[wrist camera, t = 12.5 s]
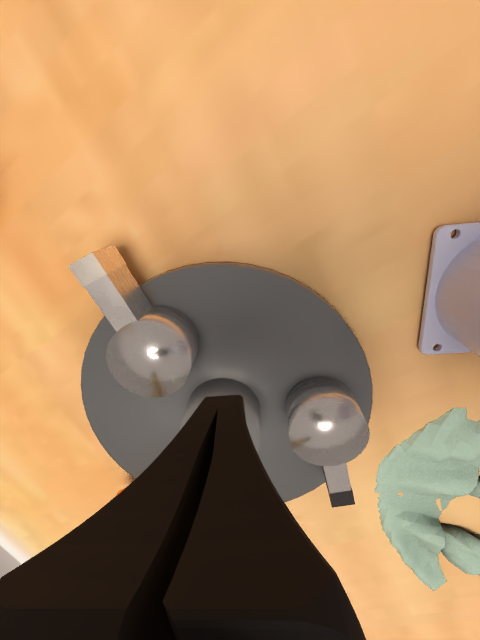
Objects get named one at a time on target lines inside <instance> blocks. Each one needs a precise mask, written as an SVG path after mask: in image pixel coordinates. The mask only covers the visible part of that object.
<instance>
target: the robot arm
mask: <svg viewBox="0 0 480 640" xmlns="http://www.w3.org/2000/svg"><path fill="white" fill-rule="evenodd" d="M453 230H456V235H455V236H454V237H453V238H451V232H452V231H453ZM436 344H438V347H436V348H434V349H433V347H434V346H435V345H436ZM418 348H419V350H420V351H421V352H422V353H423V354H426V355H432V354H450V353H467V352H474V353H475V354H476V355H478V356H479V357H480V222H472V223H461V224H449V225H442V226H439V227H438V228H437V229H436V230H435V231H434V234H433V240H432V248H431V255H430V263H429V270H428V278H427V285H426V293H425V300H424V308H423V315H422V323H421V330H420V338H419V345H418ZM0 640H366V638H365V636H364V633H363V630H362V628H361V625H360V623H359V620H358V618H357V616H356V613H355V611H354V609H353V607H352V605H351V603H350V601H349V598H348V596H347V594H346V592H345V590H344V588H343V586H342V584H341V582H340V580H339V578H338V576H337V574H336V572H335V571H334V570H333V568H332V567H331V566H330V565H329V563H328V562H327V561H326V560H325V559H324V557H323V556H322V555H321V554H320V552H319V551H318V550H317V548H316V547H315V546H314V545H313V543H312V542H311V541H310V539H309V538H308V537H307V535H306V534H305V532H304V531H303V530H302V528H301V527H300V525H299V524H298V523H297V521H296V520H295V518H294V517H293V515H292V514H291V512H290V511H289V509H288V507H287V506H286V504H285V503H284V501H283V500H282V498H281V497H280V495H279V493H278V492H277V490H276V488H275V487H274V485H273V483H272V481H271V480H270V478H269V476H268V474H267V472H266V470H265V468H264V466H263V464H262V462H261V460H260V458H259V455H258V453H257V451H256V449H255V446H254V444H253V441H252V439H251V436H250V433H249V430H248V427H247V423H246V416H245V408H244V400H243V397H242V396H241V395H225V396H209V397H205V398H204V399H203V400H202V402H201V403H200V404H199V406H198V407H197V409H196V410H195V411H194V413H193V414H192V415H191V417H190V418H189V419H188V421H187V422H186V423H185V425H184V426H183V427H182V428H181V430H180V431H179V432H178V433H177V435H176V436H175V437H174V438H173V440H172V441H171V442H170V443H169V444H168V445H167V447H166V448H165V449H164V450H163V451H162V452H161V453H160V454H159V456H158V457H157V458H156V459H155V460H154V461H153V462H152V463H151V464H150V465H149V466H148V467H147V468H146V469H145V470H144V471H143V472H142V473H141V474H140V475H139V476H138V477H137V478H136V479H135V480H134V481H133V482H132V483H131V484H130V485H129V486H128V487H126V488H125V489H124V490H123V491H122V492H120V493H119V494H118V495H117V496H116V497H114V498H113V499H112V500H111V501H110V502H109V503H107V504H106V505H105V506H104V507H103V508H101V509H100V510H99V511H98V512H96V513H95V514H94V515H92V516H91V517H90V518H89V519H87V520H86V521H85V522H83V523H82V524H81V525H79V526H78V527H76V528H75V529H74V530H72V531H71V532H70V533H68V534H67V535H65V536H64V537H63V538H61V539H60V540H58V541H57V542H55V543H54V544H52V545H51V546H49V547H48V548H46V549H45V550H43V551H42V552H40V553H39V554H37V555H36V556H34V557H32V558H31V559H29V560H28V561H26V562H25V563H23V564H22V565H20V566H19V567H17V568H15V569H14V570H12V571H11V572H9V573H7V574H6V575H4V576H3V577H1V579H0Z"/></svg>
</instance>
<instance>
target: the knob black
mask: <svg viewBox="0 0 480 640" xmlns="http://www.w3.org/2000/svg"><path fill="white" fill-rule="evenodd" d="M285 410H286V417H287V425H288V432H289V439H290V444H291V447H292V449H293V451H294V452H295V453H296V454H297V455H298V456H299V457H300V458H301V459H303V460H304V461H306V462H308V463H311V464H314V465H318V466H322V468H323V472H324V477H325V481H326V485H327V489H328V493H329V497H330V501H331V505H332V507H339V506H346V505H353V504H355V502H354V497H353V492H352V488H351V485H350V481H349V476H348V471H347V465H346V462H349V461H351V460H352V459H354V458H355V457H357V456H358V455H359V454H360V453H361V452H362V451H363V450H364V448H365V447H366V445H367V443H368V440H369V427H368V424H367V422H366V420H365V418H364V416H363V414H362V412H361V410H360V408H359V406H358V404H357V402H356V400H355V398H354V396H353V394H352V392H351V390H350V389H349V388H348V387H347V386H346V385H345V384H344V383H342V382H340V381H338V380H336V379H333V378H328V377H317V378H311V379H308V380H305V381H303V382H301V383H300V384H298V385H297V386H296V387H295V388H293V390H292V391H291V392H290V393H289V395H288V397H287V400H286V404H285Z"/></svg>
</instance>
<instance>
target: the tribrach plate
mask: <svg viewBox="0 0 480 640" xmlns="http://www.w3.org/2000/svg"><path fill="white" fill-rule="evenodd" d="M140 288H141V290H142V291H143V293H144V294H145V296H146V297H147V299H148V300H149V302H150V304H151V305H152V306H167V307H171V308H174V309H176V310H178V311H180V312H181V313H183V314H184V315H185V316H187V317H188V318H189V319H190V321H191V322H192V323H193V325H194V326H195V328H196V330H197V333H198V337H199V348H198V352H197V354H196V357H195V359H194V362H193V365H192V367H191V370H190V373H189V375H188V378H187V380H186V382H185V383H184V384H183V386H182V387H181V388H180V389H178V390H177V391H176V392H174V393H172V394H170V395H167V396H163V397H156V398H155V397H144V396H140V395H137V394H135V393H132V392H130V391H129V390H127V389H125V388H124V387H123V386H121V385H120V384H119V383H118V382H117V381H116V379H115V378H114V377H113V375H112V374H111V372H110V370H109V367H108V365H107V360H106V351H107V346H108V343H109V341H110V339H111V338H112V336H113V335H114V334H115V333H116V330H115V329H114V328H113V326H112V325H111V323H110V322H109V321H108V319H107V318H106V316H104V318H103V319H102V320H101V321H100V323H99V324H98V326H97V328H96V329H95V331H94V333H93V335H92V336H91V339H90V341H89V344H88V346H87V349H86V351H85V355H84V360H83V365H82V372H81V390H82V399H83V404H84V408H85V411H86V415H87V418H88V420H89V422H90V425H91V427H92V430H93V431H94V433H95V435H96V437H97V438H98V440H99V442H100V443H101V445H102V446H103V447H104V449H105V450H106V451H107V453H108V454H109V455H110V456H111V457H112V458H113V459H114V460H115V461H116V463H117V464H118V465H119V466H120V467H121V468H123V469H124V470H125V471H126V472H127V473H129V474H130V475H131V476H132V477H134V478H135V479H136V478H137V477H138V476H139V475H140V474H141V473H142V472H143V471H144V470H145V469H146V468H147V467H148V466H149V465H150V464H151V463H152V462H153V461H154V460H155V459H156V458H157V457H158V456H159V454H160V453H161V452H162V451H163V450H164V449H165V448H166V447H167V445H168V444H169V443H170V442H171V441H172V440H173V438H174V437H175V436H176V435H177V433H178V432H179V431H180V430H181V428H182V427H183V426H184V425H185V423H186V422H187V421H188V419H189V418H190V417H191V415H192V414H193V413H194V411H195V410H196V409H197V407H198V406H199V404H200V403H201V402H202V400H203V399H204V398H205V397H209V396H225V395H241V396H242V397H243V400H244V408H245V416H246V423H247V427H248V430H249V433H250V436H251V439H252V441H253V444H254V446H255V449H256V451H257V453H258V455H259V458H260V460H261V462H262V464H263V466H264V468H265V470H266V472H267V474H268V476H269V478H270V480H271V481H272V483H273V485H274V487H275V488H276V490H277V492H278V493H279V495H280V497H281V498H282V500H283V501H284V502H287V501H290V500H292V499H295V498H297V497H300V496H302V495H304V494H306V493H308V492H310V491H312V490H314V489H315V488H317V487H318V486H320V485H321V484H323V483H325V482H326V481H325V477H324V472H323V468H322V466H318V465H314V464H311V463H308V462H306V461H304V460H303V459H301V458H300V457H299V456H298V455H297V454H296V453H295V452H294V451H293V449H292V447H291V444H290V439H289V432H288V425H287V417H286V410H285V404H286V400H287V397H288V395H289V393H290V392H291V391H292V390H293V388H295V387H296V386H297V385H298V384H300V383H301V382H303V381H305V380H308V379H311V378H317V377H328V378H333V379H336V380H338V381H340V382H342V383H344V384H345V385H346V386H347V387H348V388H349V389H350V390H351V392H352V394H353V396H354V398H355V400H356V402H357V404H358V406H359V408H360V410H361V412H362V414H363V416H364V418H365V420H366V422H367V424H368V422H369V419H370V414H371V408H372V381H371V375H370V369H369V366H368V363H367V360H366V357H365V354H364V351H363V350H362V348H361V346H360V344H359V342H358V340H357V338H356V336H355V335H354V333H353V332H352V331H351V329H350V328H349V326H348V325H347V324H346V322H345V321H344V320H343V318H342V317H341V316H340V314H339V313H338V312H337V311H336V310H335V309H334V308H333V307H332V306H331V305H330V304H329V303H328V302H327V301H326V300H325V299H324V298H323V297H321V296H320V295H319V294H317V293H316V292H315V291H313V290H312V289H311V288H309V287H308V286H306V285H304V284H302V283H300V282H299V281H297V280H295V279H293V278H291V277H289V276H287V275H284V274H281V273H279V272H276V271H274V270H271V269H267V268H263V267H259V266H255V265H251V264H243V263H234V262H206V263H200V264H193V265H187V266H183V267H180V268H177V269H173V270H170V271H167V272H165V273H162V274H160V275H158V276H156V277H154V278H151V279H149V280H148V281H146V282H145V283H143V284H141V285H140ZM346 463H347V462H346Z"/></svg>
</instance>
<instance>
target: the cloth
mask: <svg viewBox="0 0 480 640" xmlns="http://www.w3.org/2000/svg"><path fill="white" fill-rule="evenodd" d="M466 414H467V409H466V408H453V409H452V410H450V411H448V412H447V413H445V414H444V415H443V416H441V417H440V418H438V419H437V420H434V421H432V422H429V423H428V424H427V425H426V426H424V427H423V428H422V429H420V430H418V431H416V432H415V433H414V434H413V435H412V436H411V437H410V438H408V439H407V440H404V441H402V442H401V445H396V446H395V447H394V448H393V449H392V450H391V452H390V453H389V454H388V455H387V456H386V457H384V459H383V460H382V462H381V463H380V464H379V468H378V472H377V479H376V482H377V486H376V488H375V492H377V493H381V494H380V495H379V497H378V499H379V502H378V508H379V509H380V510H379V513H380V517H379V518H380V519H381V525H382V528H383V531H384V532H385V533H386V536H387V537H388V538H389V540H390V542H391V544H392V546H393V547H394V548H396V549H397V552H398V553H399V554H400V556H401V558H402V560H403V562H404V563H405V564H406V565H407V566H408V567H409V568H410V569H412V570H413V572H414V573H415V574H416V575H417V577H418V578H419V579H420V580H421V581H422V582H423V583H424V584H425V585H427V586H428V587H429V588H430V589H432V590H433V591H434V590H436V589H437V588H439V587H440V586H441V585H442V584H444V583H445V582H446V579H445V577H444V575H443V572H442V570H441V567H440V564H439V561H438V554H439V553H440V551H441V552H442V553H443V555H444V556H445V557H446V558H447V559H448V561H450V562H451V563H452V564H454V565H455V566H456V567H458V568H459V569H461V570H462V571H463V572H465V573H466V574H471V575H478V574H479V575H480V535H478V534H473V533H467V532H466V531H464V530H462V529H460V528H458V527H455V526H453V525H450V524H446V523H440V522H439V519H438V518H439V516H440V514H441V512H442V511H443V510H444V509H445V508H447V507H448V504H449V501H450V500H452V499H454V498H456V497H459V496H464V495H468V494H469V495H471V496H474V497H478V498H480V476H479V466H480V420H479V421H477V422H475V421H472V420H469V419H467V418H466ZM399 492H402V493H403V495H404V497H403V496H400V495H397V493H399ZM422 495H423V497H422ZM438 498H440V499H441V506H442V511H439V508H438V506H437V503H436V499H438Z"/></svg>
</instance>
